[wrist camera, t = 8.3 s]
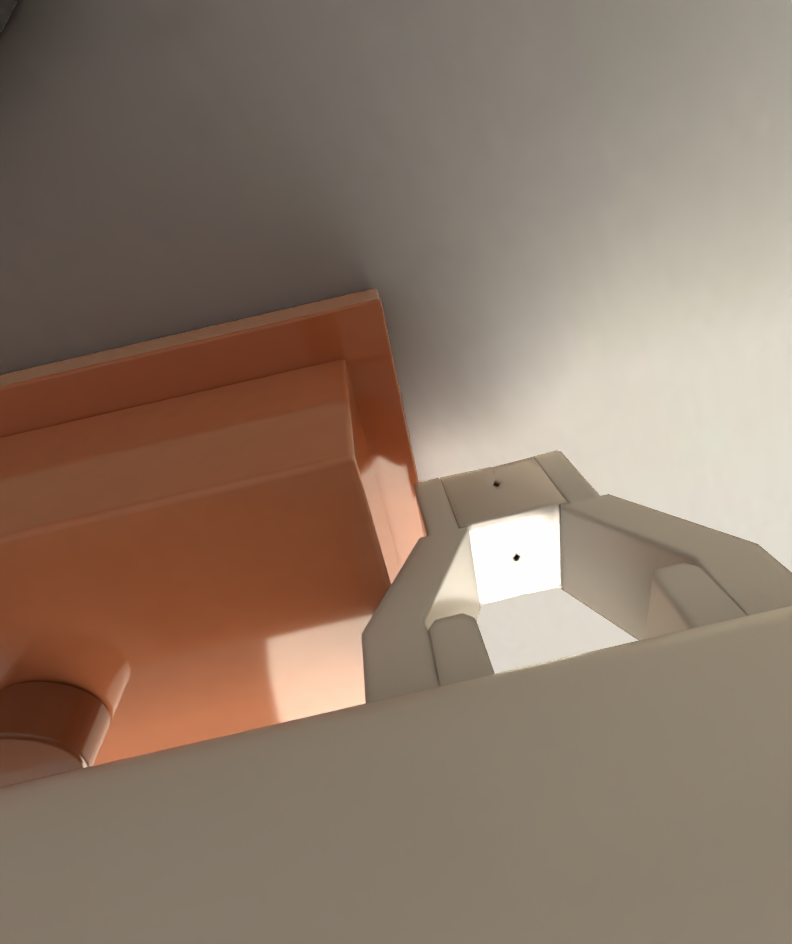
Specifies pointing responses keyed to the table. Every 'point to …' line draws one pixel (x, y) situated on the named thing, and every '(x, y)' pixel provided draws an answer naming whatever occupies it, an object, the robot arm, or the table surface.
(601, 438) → the table surface
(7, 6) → the plate
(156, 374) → the butter dish
